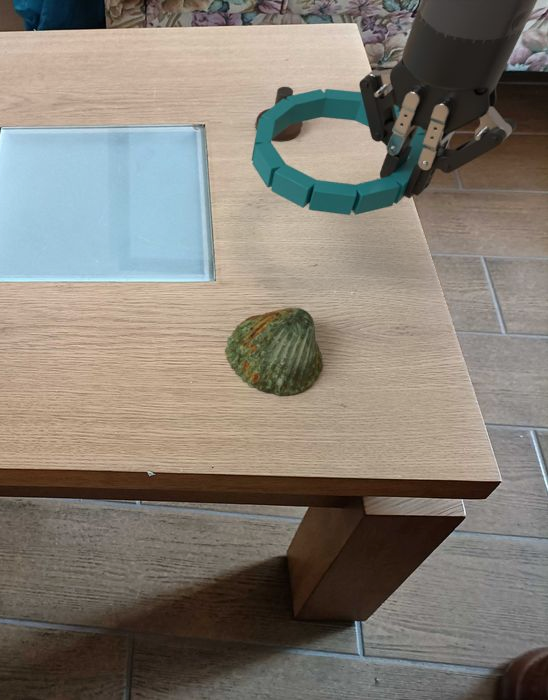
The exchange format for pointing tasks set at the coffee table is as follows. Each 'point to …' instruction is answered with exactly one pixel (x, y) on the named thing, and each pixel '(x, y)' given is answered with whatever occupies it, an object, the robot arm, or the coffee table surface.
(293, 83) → the coffee table surface
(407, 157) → the robot arm
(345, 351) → the coffee table surface
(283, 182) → the ring
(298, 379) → the seashell
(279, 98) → the peg stand
